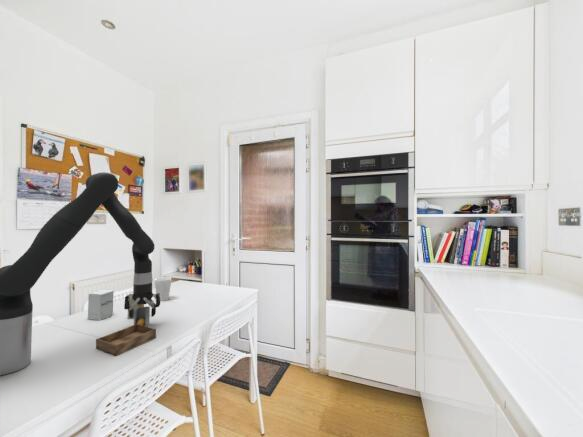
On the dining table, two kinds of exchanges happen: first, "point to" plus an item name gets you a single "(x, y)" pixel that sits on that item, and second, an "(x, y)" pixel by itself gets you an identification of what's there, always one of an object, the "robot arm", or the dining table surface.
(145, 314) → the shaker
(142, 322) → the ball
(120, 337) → the tray
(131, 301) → the skincare box
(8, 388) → the dining table surface
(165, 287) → the foam cup
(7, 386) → the dining table surface
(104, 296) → the supplement box
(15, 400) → the dining table surface
